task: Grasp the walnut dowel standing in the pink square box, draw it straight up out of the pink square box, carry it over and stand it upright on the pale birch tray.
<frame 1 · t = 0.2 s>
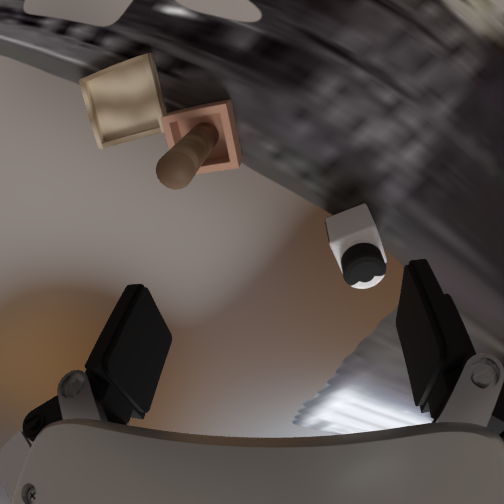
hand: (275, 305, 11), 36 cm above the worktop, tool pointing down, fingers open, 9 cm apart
dowel: (205, 135, 42), point 1 cm above the worktop, touching pink square box
pink square box: (206, 134, 43), on the worktop
medicine bottle: (351, 227, 50), on the worktop
tray: (126, 101, 40), on the worktop
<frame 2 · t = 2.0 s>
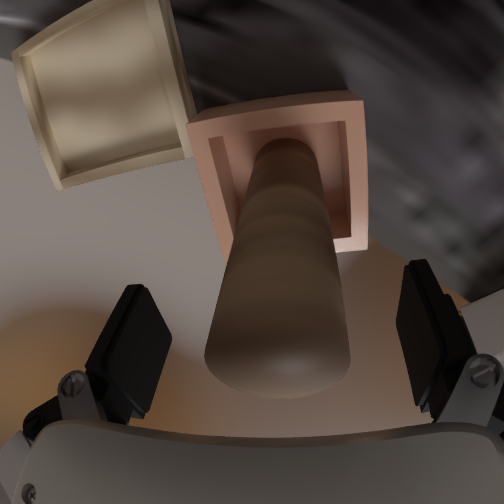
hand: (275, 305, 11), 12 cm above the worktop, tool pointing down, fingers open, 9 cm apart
dowel: (286, 167, 19), point 1 cm above the worktop, touching pink square box
pink square box: (286, 163, 20), on the worktop
medicine bottle: (484, 314, 27), on the worktop
tray: (104, 87, 18), on the worktop
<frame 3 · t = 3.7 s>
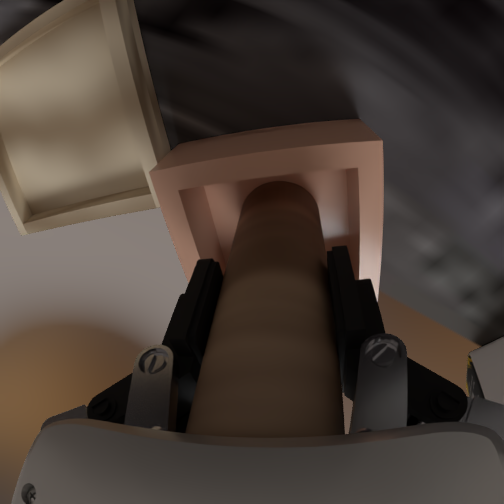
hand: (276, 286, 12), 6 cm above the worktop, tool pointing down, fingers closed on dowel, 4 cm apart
dowel: (280, 217, 16), point 1 cm above the worktop, touching pink square box, gripper
pink square box: (280, 209, 17), on the worktop
medicine bottle: (494, 354, 23), on the worktop
tray: (63, 116, 14), on the worktop
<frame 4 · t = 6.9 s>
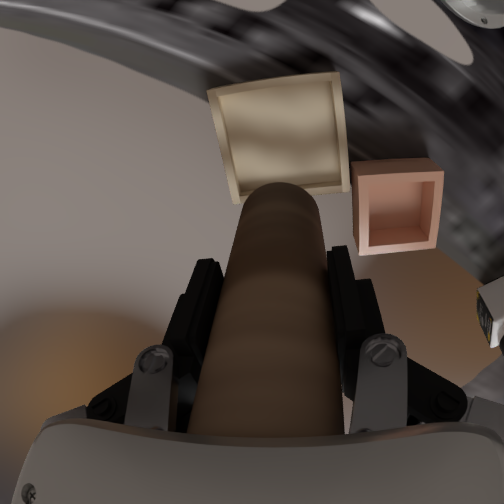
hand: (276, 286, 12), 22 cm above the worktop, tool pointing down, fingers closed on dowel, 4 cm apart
dowel: (280, 218, 16), point 17 cm above the worktop, touching gripper
pink square box: (391, 197, 32), on the worktop
medicine bottle: (493, 294, 39), on the worktop
tray: (282, 135, 30), on the worktop
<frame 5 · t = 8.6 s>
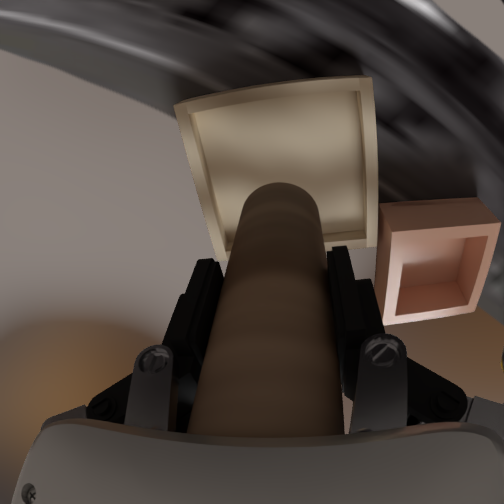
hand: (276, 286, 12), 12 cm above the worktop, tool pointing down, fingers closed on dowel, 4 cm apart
dowel: (280, 218, 16), point 7 cm above the worktop, touching gripper
pink square box: (425, 247, 24), on the worktop
tray: (286, 167, 21), on the worktop
when the fingers open (8 cm above the worktop, at t = 10.2 s): dowel drops 2 cm, resting on tray.
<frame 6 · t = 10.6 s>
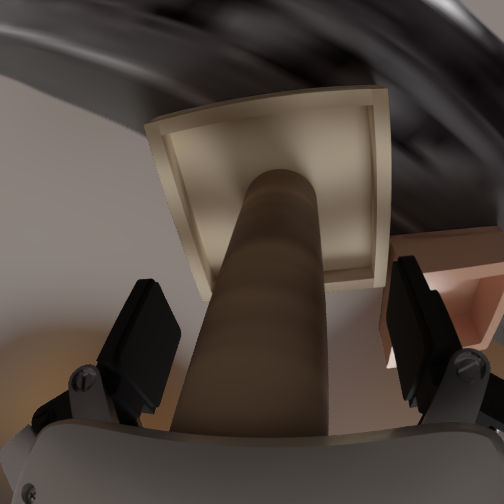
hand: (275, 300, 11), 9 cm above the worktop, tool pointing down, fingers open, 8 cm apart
dowel: (281, 202, 18), point 1 cm above the worktop, touching tray
pink square box: (438, 281, 21), on the worktop
tray: (281, 195, 18), on the worktop
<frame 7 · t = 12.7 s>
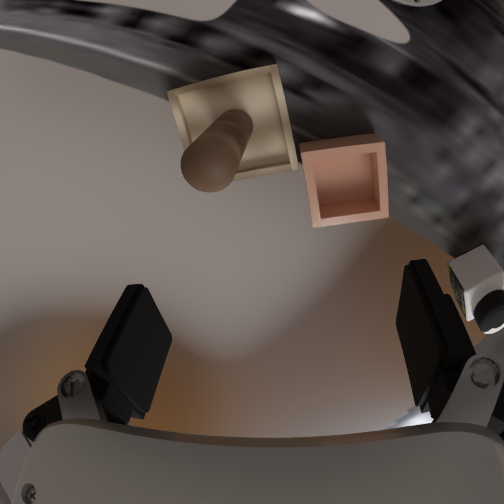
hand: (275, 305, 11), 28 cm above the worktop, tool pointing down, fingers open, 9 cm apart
dowel: (235, 126, 33), point 1 cm above the worktop, touching tray
pink square box: (342, 173, 36), on the worktop
medicine bottle: (467, 267, 42), on the worktop
tray: (235, 124, 34), on the worktop
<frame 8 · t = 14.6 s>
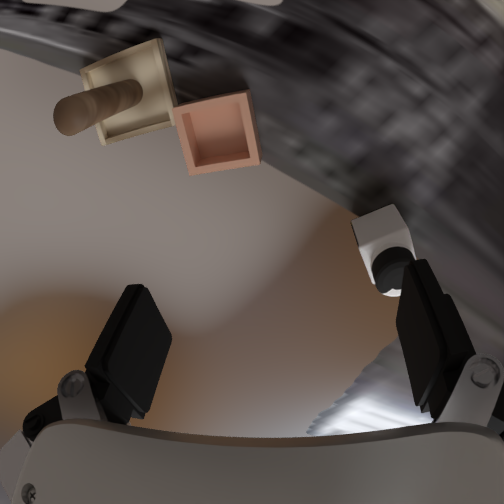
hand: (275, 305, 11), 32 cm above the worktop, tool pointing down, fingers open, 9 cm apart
dowel: (129, 93, 36), point 1 cm above the worktop, touching tray
pink square box: (222, 128, 39), on the worktop
medicine bottle: (378, 229, 45), on the worktop
tray: (131, 92, 36), on the worktop
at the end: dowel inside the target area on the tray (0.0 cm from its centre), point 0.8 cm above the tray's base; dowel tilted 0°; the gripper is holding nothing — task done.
